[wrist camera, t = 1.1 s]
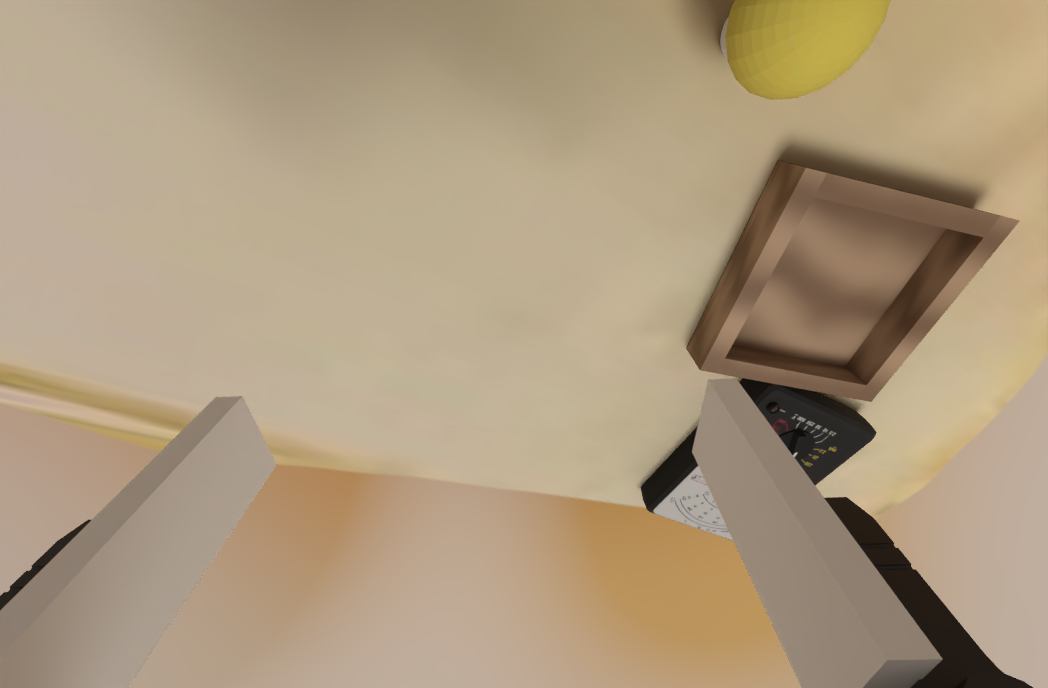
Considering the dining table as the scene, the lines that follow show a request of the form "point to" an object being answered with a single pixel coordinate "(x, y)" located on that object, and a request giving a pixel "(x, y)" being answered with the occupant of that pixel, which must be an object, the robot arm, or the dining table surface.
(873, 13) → the light bulb
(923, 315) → the tray
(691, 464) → the multimeter
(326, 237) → the dining table surface
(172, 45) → the dining table surface
